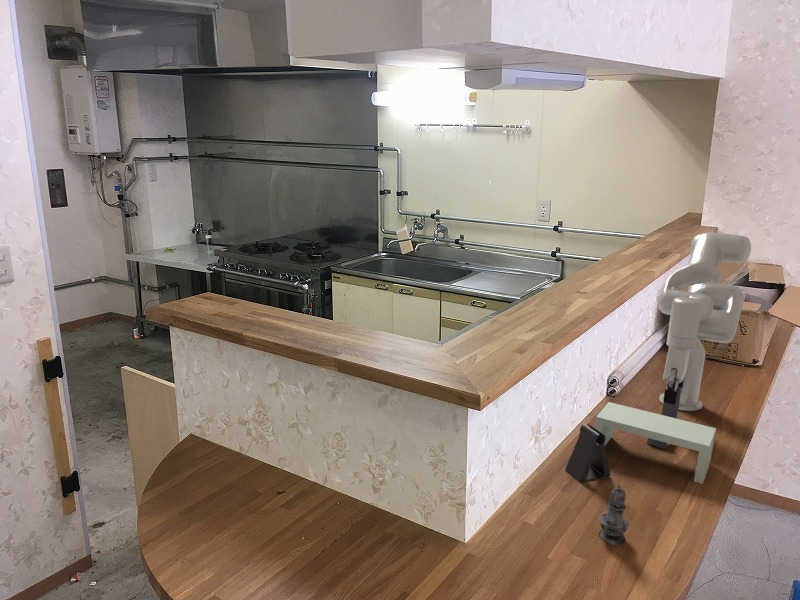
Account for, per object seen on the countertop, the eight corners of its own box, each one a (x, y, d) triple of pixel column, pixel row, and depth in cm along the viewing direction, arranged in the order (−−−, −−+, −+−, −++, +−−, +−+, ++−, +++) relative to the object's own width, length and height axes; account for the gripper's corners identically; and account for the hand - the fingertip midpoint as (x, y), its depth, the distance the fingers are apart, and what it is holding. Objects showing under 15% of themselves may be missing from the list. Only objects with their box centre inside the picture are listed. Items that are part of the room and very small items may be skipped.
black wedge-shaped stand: (595, 465, 163) (600, 421, 160) (610, 476, 157) (616, 431, 154) (564, 470, 160) (570, 425, 157) (579, 482, 154) (585, 436, 151)
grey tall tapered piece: (622, 549, 130) (630, 496, 126) (593, 538, 132) (600, 486, 129) (629, 534, 134) (637, 483, 131) (601, 525, 137) (608, 474, 134)
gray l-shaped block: (659, 422, 189) (665, 384, 186) (677, 426, 187) (684, 388, 184) (646, 443, 176) (653, 402, 173) (666, 448, 173) (672, 407, 170)
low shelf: (604, 435, 179) (608, 401, 177) (709, 464, 166) (716, 428, 163) (591, 451, 170) (596, 416, 167) (702, 483, 156) (709, 446, 153)
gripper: (673, 331, 190) (664, 385, 194) (661, 346, 176) (652, 404, 180) (700, 336, 186) (691, 391, 191) (690, 352, 172) (681, 411, 176)
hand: (672, 397), depth 185 cm, fingers open, 9 cm apart
